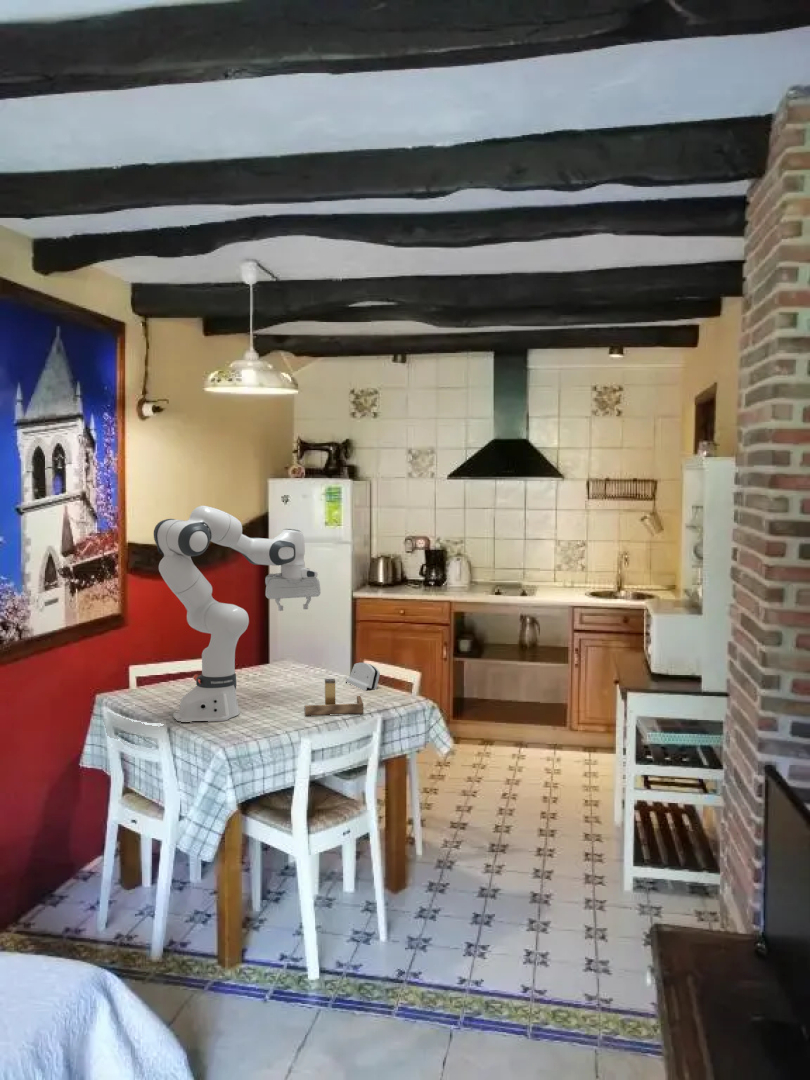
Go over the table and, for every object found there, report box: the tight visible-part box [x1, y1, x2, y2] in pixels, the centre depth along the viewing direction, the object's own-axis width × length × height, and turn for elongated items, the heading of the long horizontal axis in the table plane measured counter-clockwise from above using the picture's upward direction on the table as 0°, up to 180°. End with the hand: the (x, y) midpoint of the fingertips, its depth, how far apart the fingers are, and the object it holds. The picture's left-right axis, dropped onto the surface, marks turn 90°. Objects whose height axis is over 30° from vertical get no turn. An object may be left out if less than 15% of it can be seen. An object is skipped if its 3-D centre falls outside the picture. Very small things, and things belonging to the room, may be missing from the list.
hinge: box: [345, 662, 381, 692], centre depth 344 cm, size 17×5×10 cm, turn 32°
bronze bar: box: [324, 678, 336, 705], centre depth 307 cm, size 4×4×10 cm
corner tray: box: [304, 695, 364, 717], centre depth 306 cm, size 20×12×4 cm, turn 98°
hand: (293, 609), depth 322 cm, fingers open, 8 cm apart
